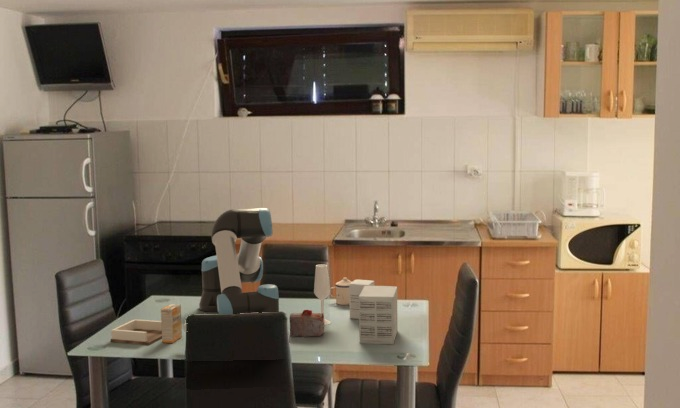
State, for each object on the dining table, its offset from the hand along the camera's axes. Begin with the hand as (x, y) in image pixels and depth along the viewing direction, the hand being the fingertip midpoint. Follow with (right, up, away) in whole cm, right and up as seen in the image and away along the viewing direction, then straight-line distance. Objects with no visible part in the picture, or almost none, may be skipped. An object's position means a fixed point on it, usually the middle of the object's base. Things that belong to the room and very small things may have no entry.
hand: (193, 322), depth 261 cm
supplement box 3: (+70, -6, +2) cm, 71 cm away
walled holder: (-22, -7, +8) cm, 24 cm away
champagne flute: (+48, -4, +23) cm, 54 cm away
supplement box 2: (+65, -3, +31) cm, 72 cm away
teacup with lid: (+57, -1, +55) cm, 79 cm away
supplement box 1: (-9, -8, +4) cm, 12 cm away
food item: (+43, -6, +7) cm, 44 cm away
